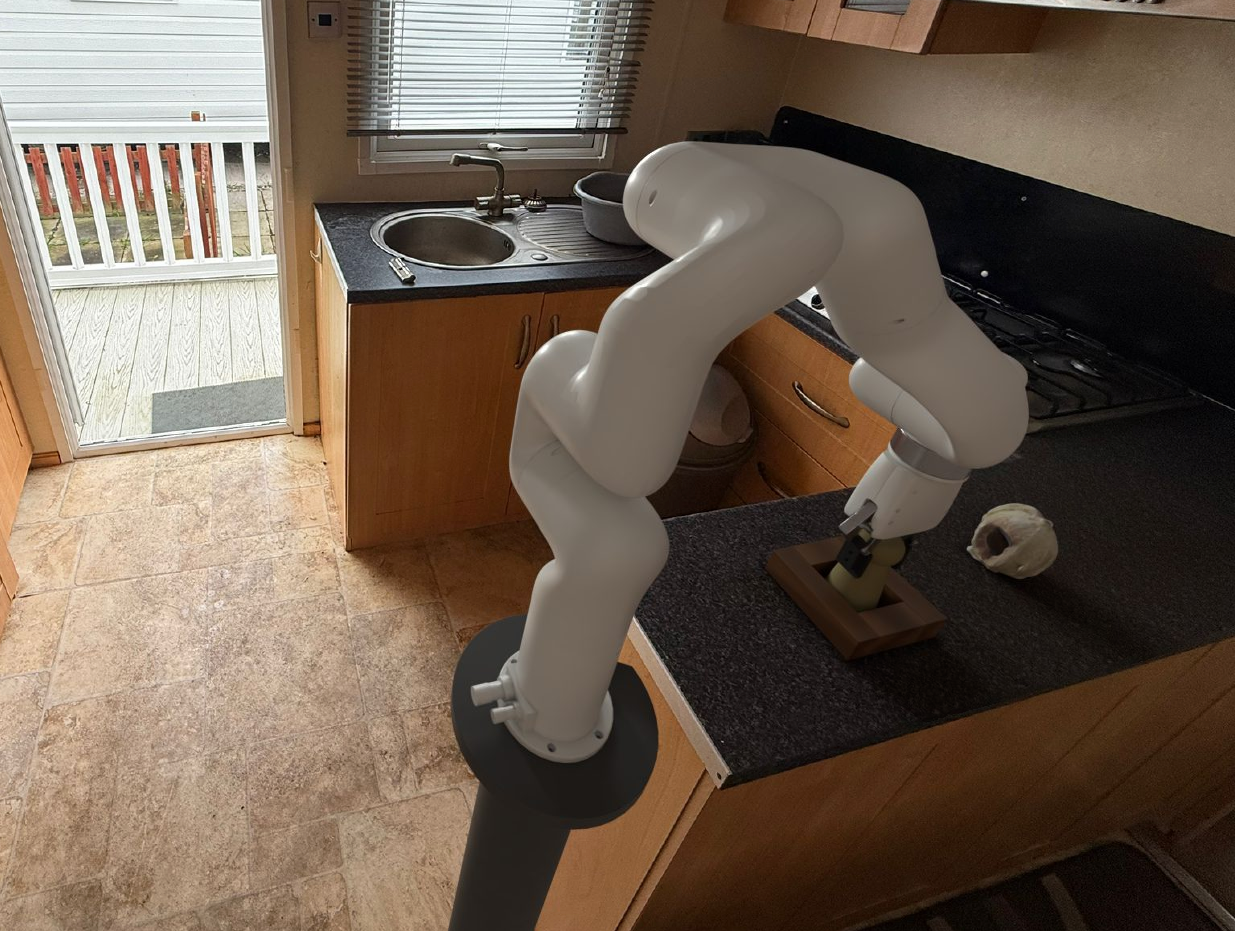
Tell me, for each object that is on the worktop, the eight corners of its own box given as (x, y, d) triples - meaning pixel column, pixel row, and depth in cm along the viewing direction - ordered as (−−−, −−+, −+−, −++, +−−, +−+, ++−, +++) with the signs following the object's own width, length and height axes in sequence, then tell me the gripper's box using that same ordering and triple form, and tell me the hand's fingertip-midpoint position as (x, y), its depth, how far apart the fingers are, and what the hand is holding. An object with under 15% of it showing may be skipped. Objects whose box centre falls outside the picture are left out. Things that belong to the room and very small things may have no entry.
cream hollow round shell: (968, 549, 97) (990, 486, 95) (1045, 579, 91) (1070, 513, 89) (959, 565, 91) (983, 498, 89) (1042, 598, 85) (1069, 527, 83)
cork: (828, 607, 82) (863, 545, 77) (817, 570, 87) (849, 509, 82) (882, 622, 81) (922, 559, 75) (868, 583, 86) (904, 522, 81)
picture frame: (847, 661, 77) (859, 642, 76) (764, 568, 89) (773, 550, 87) (934, 637, 81) (948, 618, 79) (844, 551, 92) (854, 533, 90)
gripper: (958, 420, 78) (893, 530, 87) (843, 438, 73) (787, 552, 82) (1024, 462, 72) (947, 576, 80) (903, 485, 67) (836, 603, 76)
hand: (867, 563), depth 81 cm, fingers closed on cork, 5 cm apart
